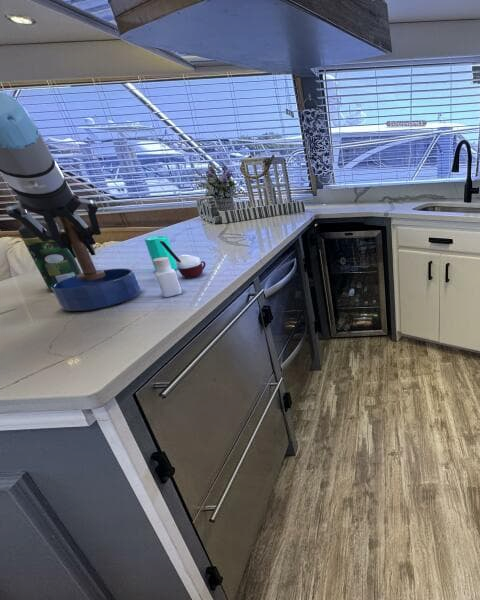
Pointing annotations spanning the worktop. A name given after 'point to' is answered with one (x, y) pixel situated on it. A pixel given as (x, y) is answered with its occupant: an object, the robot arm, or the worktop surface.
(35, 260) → the coffee jar
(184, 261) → the cocoa
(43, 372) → the worktop surface
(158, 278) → the salt shaker
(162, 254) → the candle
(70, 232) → the brown wooden pestle
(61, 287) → the bowl
